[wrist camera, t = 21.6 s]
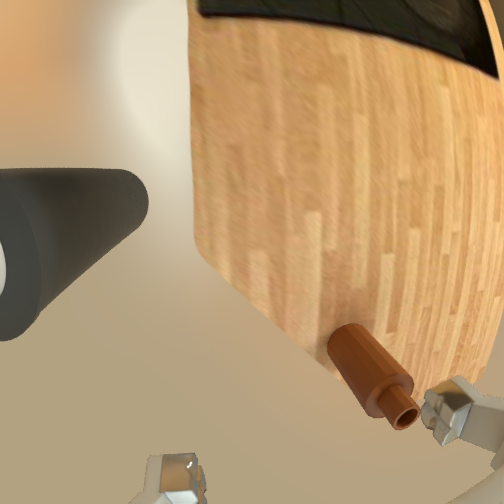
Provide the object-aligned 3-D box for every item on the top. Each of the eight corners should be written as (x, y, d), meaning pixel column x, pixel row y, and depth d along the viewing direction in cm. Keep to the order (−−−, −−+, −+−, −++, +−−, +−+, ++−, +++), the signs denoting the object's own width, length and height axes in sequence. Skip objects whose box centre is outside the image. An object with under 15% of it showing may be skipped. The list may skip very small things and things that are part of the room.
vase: (327, 366, 43) (377, 447, 27) (326, 329, 41) (384, 408, 25) (366, 355, 43) (425, 426, 27) (368, 319, 42) (436, 386, 25)
